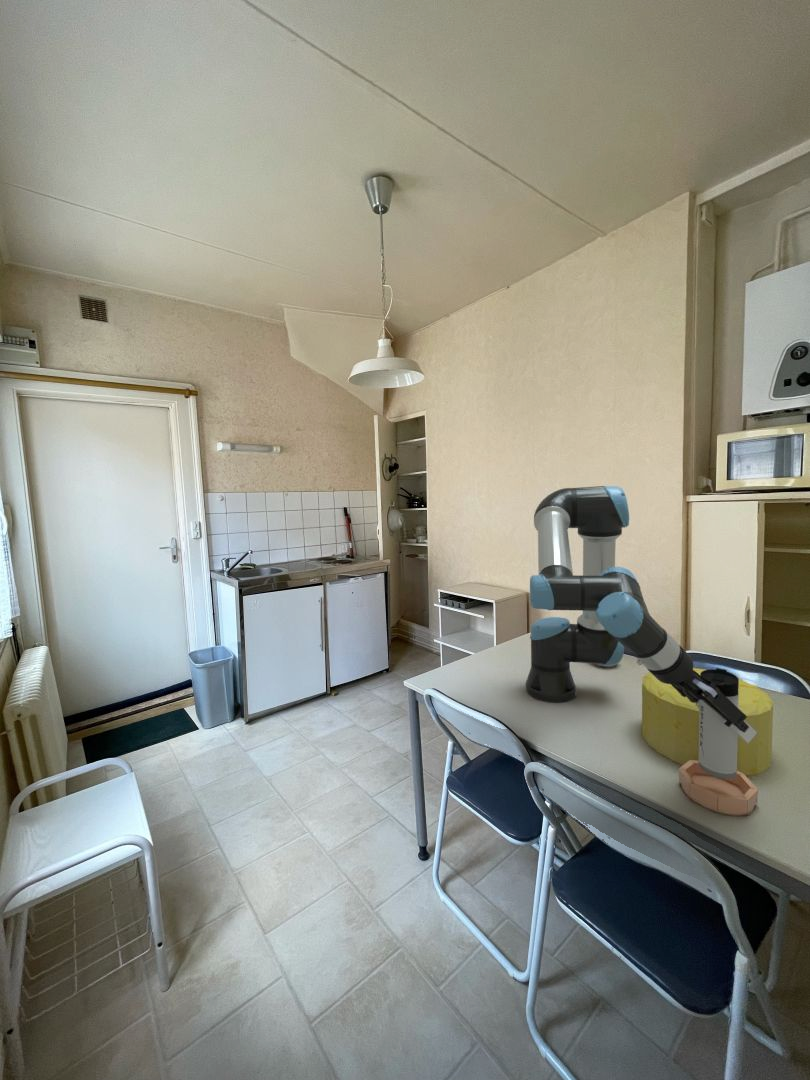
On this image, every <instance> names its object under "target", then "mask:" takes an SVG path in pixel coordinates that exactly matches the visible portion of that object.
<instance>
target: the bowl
mask: <svg viewBox="0 0 810 1080" xmlns="http://www.w3.org/2000/svg"><path fill="white" fill-rule="evenodd" d="M678 781H679V782H680V784H681V788H682V790H683V793H685V795H686V796H687V797H688V798H690V800H691V801H693V802H695V803H696V804H697V805H699V806H701V807H703V808H705V809H707V810H710V811H712V812H715V813H717V814H723V815H726V816H727V815H728V816H732V817H733V816H736V817H738V816H739V817H741V816H747V815H749V814H751V813H752V812H753V811H754V810H755V807H756V806H755V805H757V803H758V798H759V797H758V796H759V794H758V793H759V789H758V788H757V786H756V785H754V783H753V782H752V781H751V780H750V779H749V778H748V777H747V776H745V775H744V774H743V773H741V772H739V771H737V775H736V777H734V778H731V779H722V778H718V777H714V776H712V775H709V774H708V773H706V772H704V771H703V770H702V769H701V768H700V767H699V764H698V761H697V760H689V761H688V762H687V763H685V764H684V765H683V764H682V765H681V766H680V767H679V768H678Z"/></svg>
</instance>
